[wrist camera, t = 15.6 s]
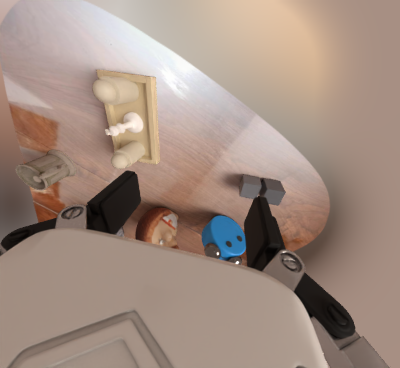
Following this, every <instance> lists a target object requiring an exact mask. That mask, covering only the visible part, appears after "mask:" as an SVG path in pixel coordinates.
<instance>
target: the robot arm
mask: <svg viewBox="0 0 400 368" xmlns="http://www.w3.org/2000/svg"><path fill="white" fill-rule="evenodd" d="M140 202H141V197H140V191H139V184H138V177H137V174H135V172H133V171H125V172H124V173H123V174H122V175H120V176H119V177H118V178H117V179H115V180H114V181H113V182H112V183H111V184H109V185H108V186H107V187H106V188H105V189H103V190H102V191H101V192H100V193H98V194H97V195H96V196H95V197H94V198H92V199H91V200H90V201H89V202H88V203H87V204H88V205H87V206H84V205H80V204H77V205H72V206H69V207H67V208H65V209H63V210H62V211H61V212H60V213H59V214H58V217H57V218H54V219H51V220H47V221H44V222H40V223H37V224H33V225H30V226H26V227H23V228H20V229H17V230H15V231H13V232H11V233H10V234H8V235H7V236H6V237H5V238H4V239H3V240H2V242H1V243H0V368H328V367H327V364H326V361H327V363H328V364H329V366H330V368H389V366H388V365H387V364H386V363H385V362H384V360H383V359H382V358H381V357H380V356H379V354H378V353H377V352H376V351H375V350H374V348H373V347H372V346H371V345H370V344H369V343H368V341H367V340H366V339H365V338H364V337H363V336H362V337H360V336H359V334H358V333H357V332H356V331H355V325H354V322H353V320H352V318H351V316H350V315H349V313H348V312H347V310H346V309H345V308H344V307H343V306H341V304H340V303H339V302H337V301H336V300H335V299H334V298H333V297H332V296H331V295H330V294H328V293H327V292H326V291H325V290H324V289H323V288H322V287H321V286H319V285H318V284H317V283H316V282H315V281H314V280H313V279H311V278H310V277H309V276H308V275H307V274H306V273H305V265H304V263H303V261H302V260H301V259H300V257H298V256H297V255H296V254H295V253H293V252H292V251H289V250H286V249H285V245H284V242H283V239H282V236H281V233H280V230H279V227H278V224H277V221H276V218H275V217H273V216H272V214H271V211H270V207H269V204H268V201H267V198H266V197H262V196H258V197H255V198H254V200H253V203H252V205H251V207H250V210H249V212H248V215H247V217H246V219H245V222H244V230H245V242H246V254H247V266H248V267H246V266H243V265H239V264H235V263H232V262H228V261H224V260H220V259H216V258H212V257H207V256H203V255H199V254H195V253H191V252H186V251H182V250H178V249H174V248H169V247H165V246H161V245H157V244H152V243H148V242H144V241H139V240H135V239H131V238H126V237H122V236H117V235H116V234H117V232H118V231H119V230H120V229H121V227H122V226H123V225H124V223H125V222H126V221H127V219H128V218H129V217H130V216H131V214H132V213H133V212H134V210H135V209H136V208H137V206H138V205H139V204H140ZM322 351H323V352H322ZM323 353H324V354H323ZM325 360H326V361H325Z"/></svg>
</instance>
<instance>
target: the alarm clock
mask: <svg viewBox="0 0 400 368" xmlns="http://www.w3.org/2000/svg"><path fill="white" fill-rule="evenodd" d="M202 242H203V245H204V248H205V249H204V250H205V254H206V256H207V257H212V258H216V259H220V260H224V261H228V262H232V263H235V264H239V265H241V263H242V259H241V257H240V255H241V254H242V253H243V252H244V251H245V249H246V242H245V235H244V233H243V231H242V229H241V228H240V226H239V225H238V224H237V223H236V222H235V221H233V220H232V219H231V218H229V217H226V216H222V215H219V216H215V217H214V218H213V219H212V220H211V221H210V222H209V223H208V224H207V225H206V226H205V228H204V229H203V231H202ZM238 256H239V257H238Z"/></svg>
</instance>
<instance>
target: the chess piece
mask: <svg viewBox="0 0 400 368" xmlns="http://www.w3.org/2000/svg"><path fill="white" fill-rule="evenodd" d="M123 121H124V124H121V123H117V124H116V126H110V127H109V130H107V129H105V132H106V135H112V136H117V135H118V134H119V133H124V132H125V129H128V130H129V131H130V132H132V133H139V132H141V131H142V129H143V121H142V119H141V117H140V116H139V115H138V114H136V113H134V112H129V113H127V114H126V115H125V116H124V119H123Z"/></svg>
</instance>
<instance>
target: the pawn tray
mask: <svg viewBox="0 0 400 368" xmlns="http://www.w3.org/2000/svg"><path fill="white" fill-rule="evenodd" d="M96 71H97V76H98V80H97V81H95V82H94V83H93V86H92V90H93V93H94V95H95V97H96V98H97V99H98V100H100V101H102V102H104V106H105V110H106V115H107V119H108V124H109V127H110V126H116V124H117V123H121V124H124V121H123V119H124V116H125V115H126V114H127V113H129V112H134V113H136V114H138V115H139V116H140V117H141V119H142V121H143V129H142V131H141V132H139V133H132V132H130V131H129V130H128V129H125V132H124V133H119V134H118V135H117V136H112V135H111V137H112V141H113V145H114V150H115V152H114V154H113V156H112V158H111V164H112V165H113V167H115V168H117V169H123V168H128V167H130V166H131V165H132V164H134V163H135V162H136V161H139V162H144V163H149V164H155V165H157V163H158V162H159V161H160V155H159V135H158V114H157V94H156V77H149V76H142V75H135V74H127V73H120V72H113V71H105V70H96Z"/></svg>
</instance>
